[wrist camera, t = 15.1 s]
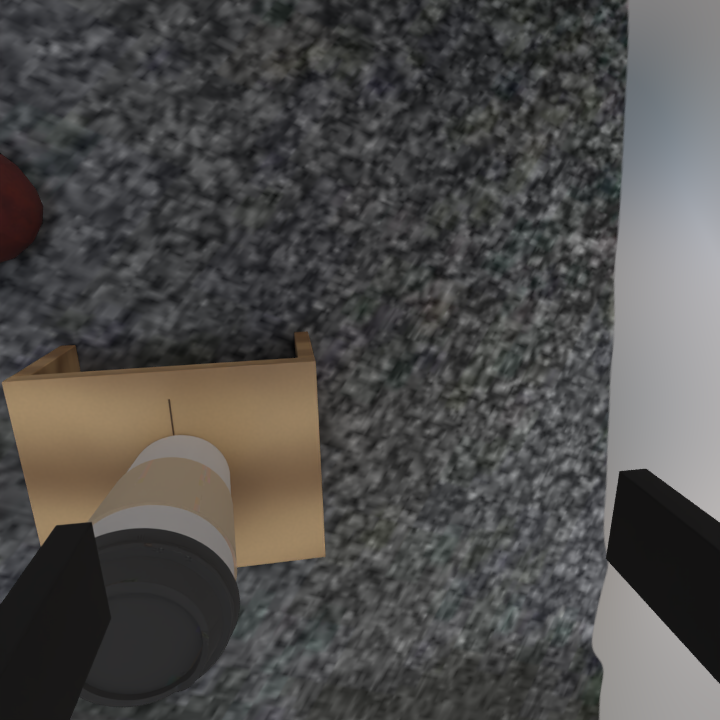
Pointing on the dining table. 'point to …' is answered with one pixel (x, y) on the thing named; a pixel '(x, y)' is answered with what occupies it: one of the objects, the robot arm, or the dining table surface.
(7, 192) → the potato
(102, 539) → the coffee cup
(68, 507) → the board
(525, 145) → the dining table surface
